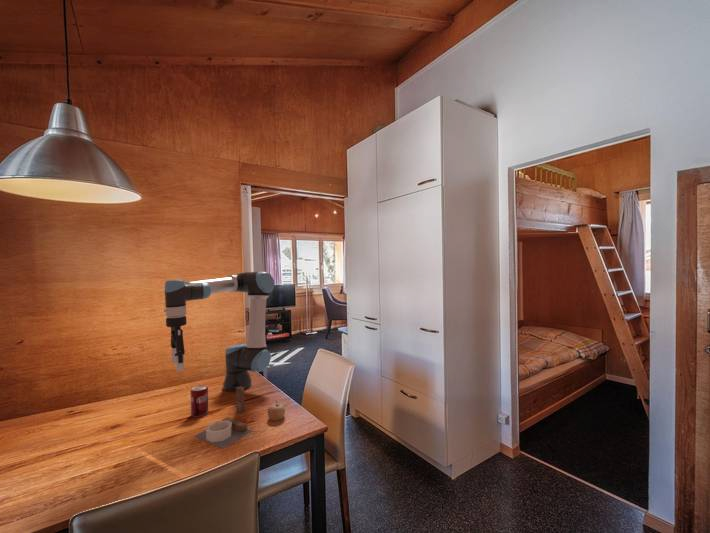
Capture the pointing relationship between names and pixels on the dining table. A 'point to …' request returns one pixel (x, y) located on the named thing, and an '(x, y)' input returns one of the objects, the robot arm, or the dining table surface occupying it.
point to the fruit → (276, 412)
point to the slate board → (226, 442)
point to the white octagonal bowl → (219, 431)
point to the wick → (237, 425)
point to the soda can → (199, 401)
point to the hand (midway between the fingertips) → (177, 366)
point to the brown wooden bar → (240, 400)
